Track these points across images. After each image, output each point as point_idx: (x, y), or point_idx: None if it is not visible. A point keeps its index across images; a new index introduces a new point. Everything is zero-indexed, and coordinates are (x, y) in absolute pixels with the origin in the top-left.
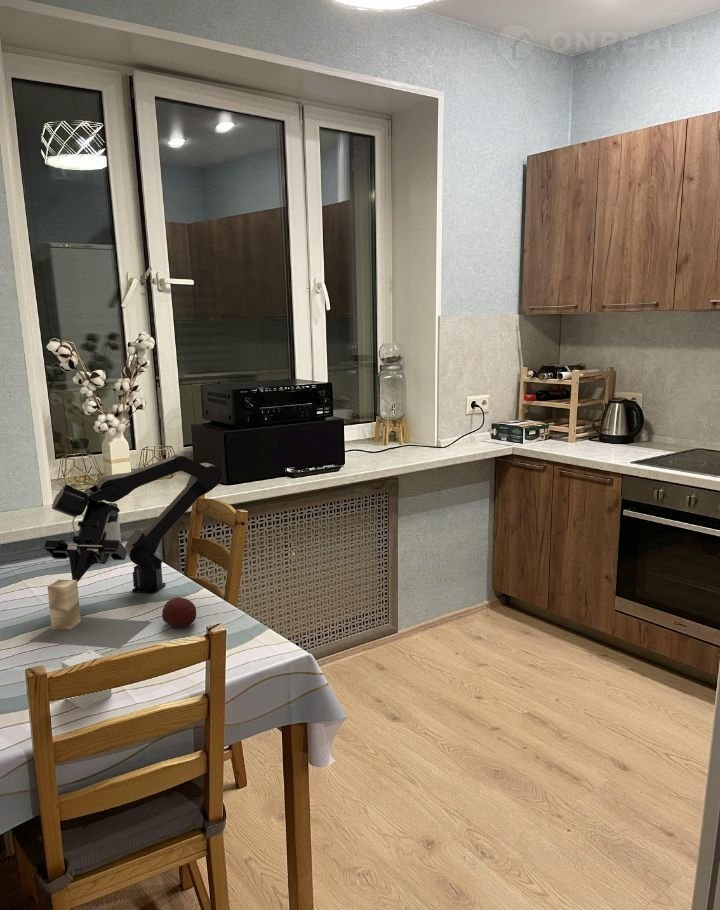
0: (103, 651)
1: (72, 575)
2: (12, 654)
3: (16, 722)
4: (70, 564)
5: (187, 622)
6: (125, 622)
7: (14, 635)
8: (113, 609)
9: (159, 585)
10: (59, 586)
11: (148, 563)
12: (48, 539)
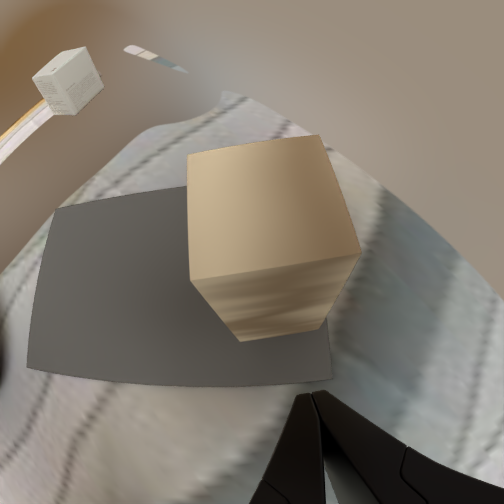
0: (86, 195)
1: (340, 407)
2: (290, 130)
3: (141, 53)
4: (418, 452)
5: None
6: (83, 357)
7: (388, 208)
8: (198, 486)
9: None
10: (239, 148)
11: None
12: None
